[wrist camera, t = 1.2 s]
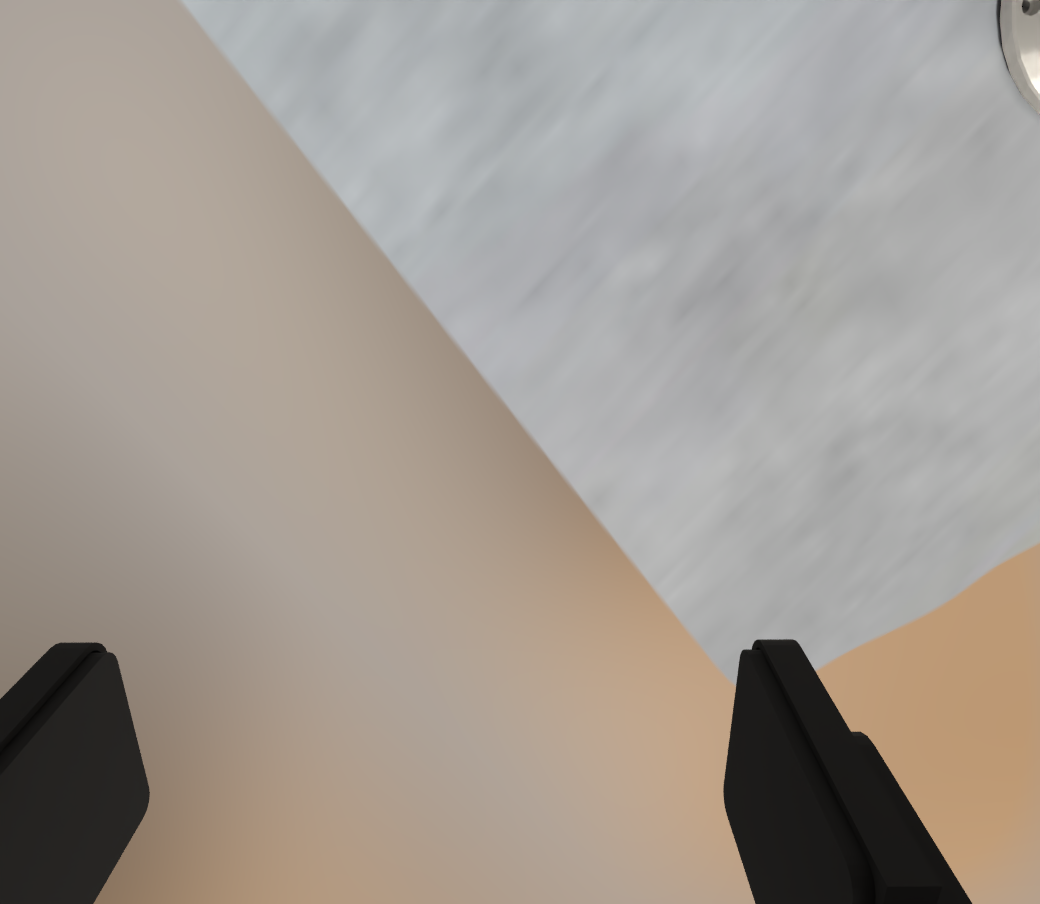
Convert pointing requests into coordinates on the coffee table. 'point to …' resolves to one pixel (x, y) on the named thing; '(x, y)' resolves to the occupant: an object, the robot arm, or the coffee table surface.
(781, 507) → the coffee table surface
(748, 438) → the coffee table surface
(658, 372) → the coffee table surface
